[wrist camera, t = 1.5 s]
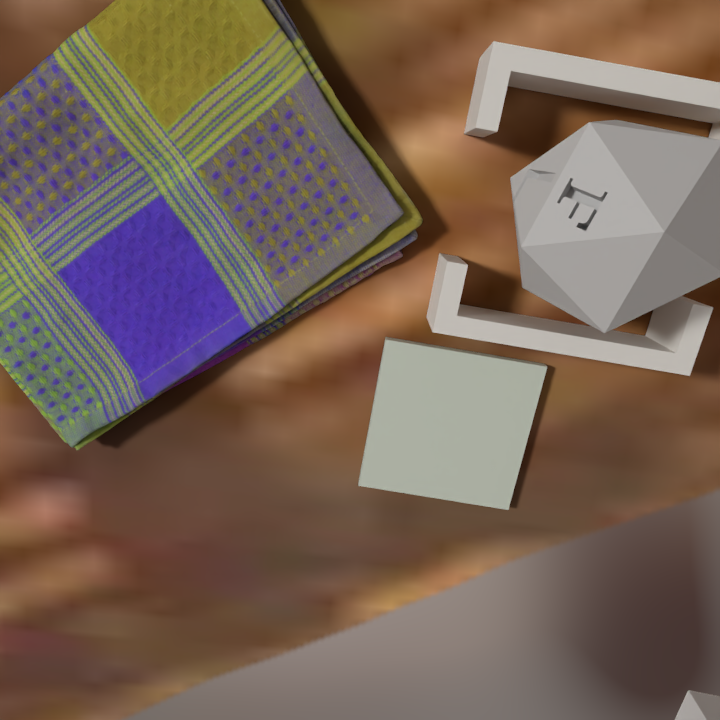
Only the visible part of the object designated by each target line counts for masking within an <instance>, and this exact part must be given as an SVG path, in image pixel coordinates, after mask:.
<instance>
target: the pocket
mask: <svg viewBox="0 0 720 720" xmlns="http://www.w3.org/2000/svg"><path fill="white" fill-rule="evenodd" d="M507 86H510V87H515V88H521V89H526V90H532V91H537V92H543V93H548V94H554V95H559V96H565V97H570V98H576V99H581V100H587V101H592V102H598V103H603V104H609V105H614V106H620V107H625V108H631V109H636V110H642V111H647V112H653V113H658V114H664V115H669V116H675V117H680V118H686V119H691V120H697V121H702V122H708V123H713V124H712V127H711V131H710V134H709V137H708V138H712V139H717V140H720V83H718V82H713V81H707V80H702V79H696V78H691V77H686V76H680V75H675V74H669V73H664V72H658V71H653V70H647V69H642V68H636V67H631V66H626V65H620V64H615V63H609V62H604V61H598V60H593V59H587V58H582V57H576V56H571V55H566V54H560V53H555V52H549V51H544V50H538V49H533V48H527V47H522V46H517V45H511V44H506V43H500V42H495V41H493V43H492V44H491V45H490V46H489V47H488V49H487V50H486V51H485V52H484V53H483V55H482V56H481V57H480V58H479V63H478V68H477V73H476V78H475V83H474V88H473V92H472V97H471V102H470V107H469V112H468V117H467V122H466V127H465V131H464V134H467V135H472V136H478V137H483V138H484V137H486V136H488V135H491V134H493V133H495V132H498V127H499V123H500V118H501V114H502V109H503V105H504V100H505V95H506V91H507ZM467 268H468V265H467V264H466V263H465V262H464V261H463V260H462V259H461V258H459V257H458V256H453V255H447V254H442V253H439V258H438V263H437V268H436V273H435V277H434V282H433V287H432V292H431V297H430V302H429V307H428V312H427V316H426V317H427V319H428V322H429V324H430V327H431V330H432V332H435V333H440V334H446V335H452V336H458V337H464V338H470V339H476V340H482V341H488V342H494V343H499V344H505V345H511V346H517V347H523V348H529V349H535V350H541V351H547V352H553V353H558V354H564V355H570V356H576V357H582V358H588V359H594V360H600V361H606V362H612V363H617V364H623V365H629V366H635V367H641V368H647V369H653V370H659V371H665V372H671V373H676V374H682V375H688V376H690V374H691V371H692V368H693V365H694V362H695V359H696V356H697V353H698V351H699V348H700V345H701V342H702V339H703V336H704V333H705V330H706V328H707V325H708V322H709V319H710V316H711V313H712V310H713V307H711V306H708V305H705V304H703V303H700V302H697V301H694V300H692V299H689V298H686V297H683V296H680V297H678V298H676V299H674V300H672V301H670V302H668V303H666V304H664V305H662V306H660V307H658V308H656V309H654V310H653V313H652V316H651V319H650V322H649V326H648V329H647V332H646V335H645V336H644V335H638V334H632V333H626V332H620V331H614V330H610V331H608V332H606V333H603V332H601V331H600V330H598V329H596V328H594V327H591V326H585V325H579V324H573V323H568V322H562V321H556V320H550V319H544V318H538V317H533V316H527V315H521V314H515V313H509V312H503V311H497V310H492V309H486V308H480V307H474V306H468V305H462V304H460V300H461V295H462V290H463V286H464V281H465V277H466V272H467Z"/></svg>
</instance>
